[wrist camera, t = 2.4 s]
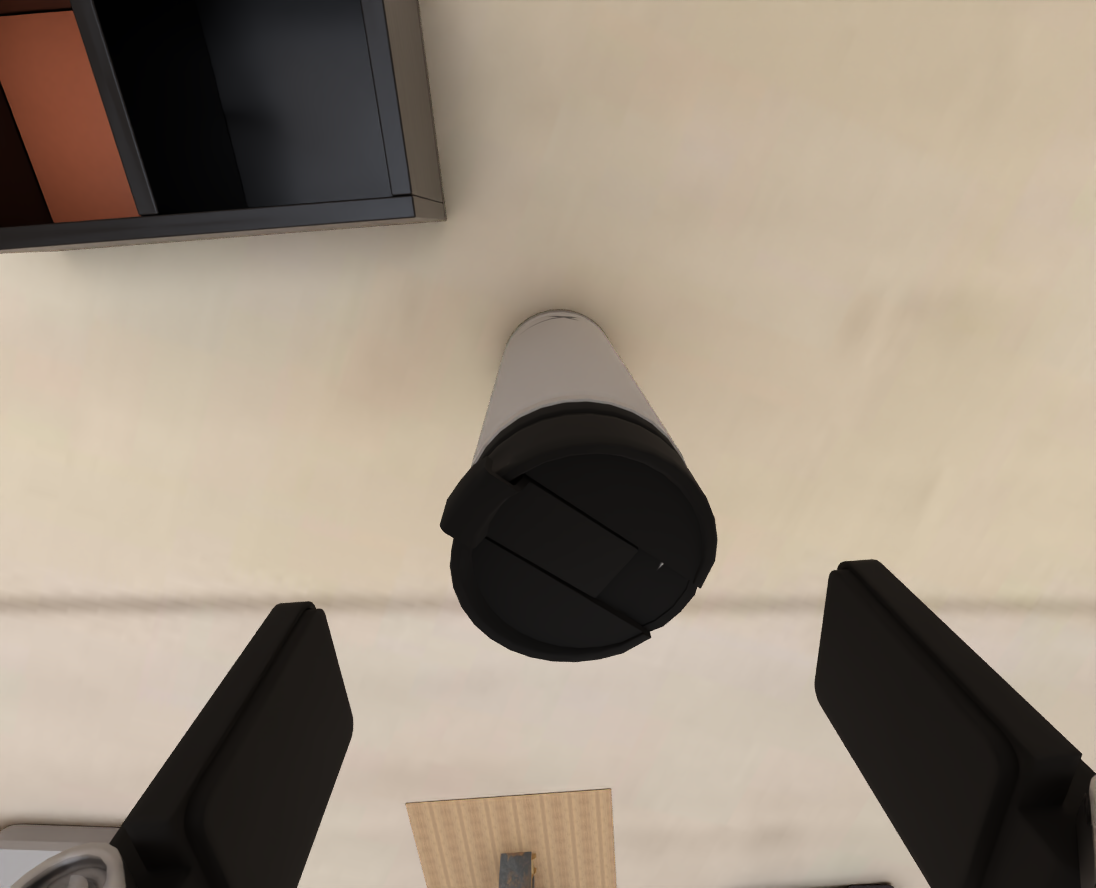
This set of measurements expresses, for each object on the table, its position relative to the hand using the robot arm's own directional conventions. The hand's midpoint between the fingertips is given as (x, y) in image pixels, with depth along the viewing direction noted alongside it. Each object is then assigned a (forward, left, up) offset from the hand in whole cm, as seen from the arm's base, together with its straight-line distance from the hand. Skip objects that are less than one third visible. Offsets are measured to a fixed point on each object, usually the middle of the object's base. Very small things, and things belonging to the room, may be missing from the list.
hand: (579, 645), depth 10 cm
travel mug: (0, 0, -22) cm, 22 cm away
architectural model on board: (+47, -6, -22) cm, 52 cm away
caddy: (-13, -15, -22) cm, 29 cm away
